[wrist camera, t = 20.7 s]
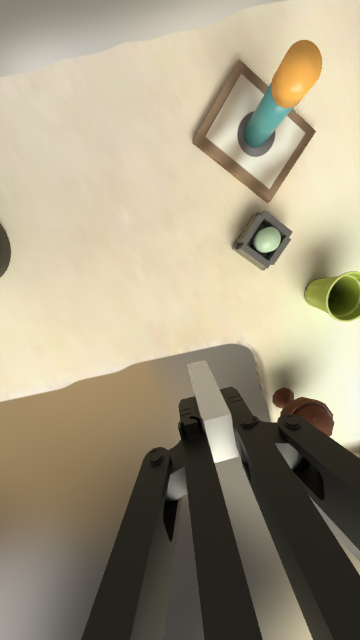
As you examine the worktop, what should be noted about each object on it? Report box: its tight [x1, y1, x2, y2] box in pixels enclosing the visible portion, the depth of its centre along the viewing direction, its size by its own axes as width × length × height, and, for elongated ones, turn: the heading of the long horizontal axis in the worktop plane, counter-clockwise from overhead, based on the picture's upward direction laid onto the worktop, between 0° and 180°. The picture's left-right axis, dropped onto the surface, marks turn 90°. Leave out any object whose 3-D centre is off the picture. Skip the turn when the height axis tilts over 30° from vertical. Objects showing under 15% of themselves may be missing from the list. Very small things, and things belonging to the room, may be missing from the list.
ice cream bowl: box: [273, 388, 334, 436], centre depth 46 cm, size 11×11×15 cm
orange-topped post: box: [244, 40, 322, 148], centre depth 31 cm, size 5×5×13 cm
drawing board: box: [193, 59, 316, 203], centre depth 39 cm, size 18×14×2 cm
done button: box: [251, 227, 281, 253], centre depth 41 cm, size 4×4×3 cm
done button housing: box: [232, 211, 292, 270], centre depth 42 cm, size 8×8×4 cm
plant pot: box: [305, 271, 360, 322], centre depth 43 cm, size 9×9×9 cm
